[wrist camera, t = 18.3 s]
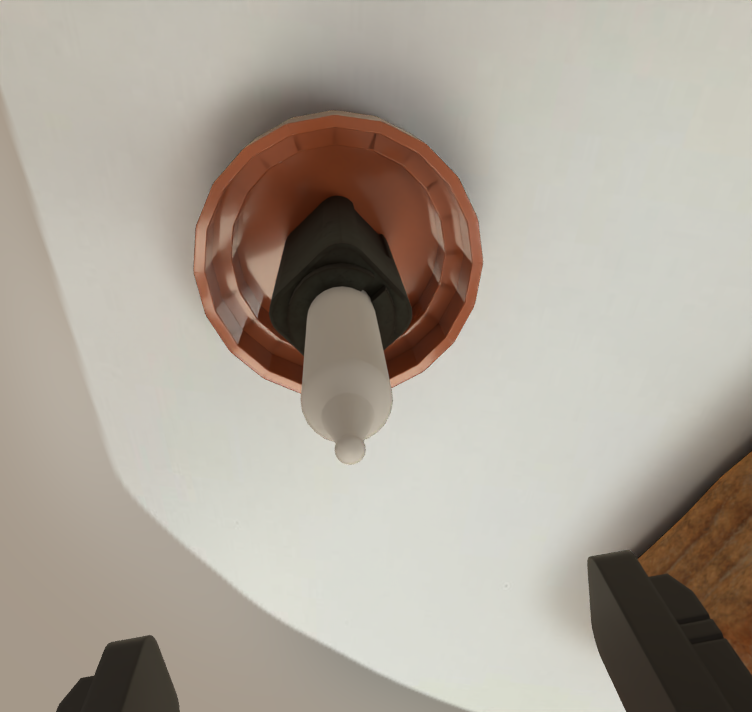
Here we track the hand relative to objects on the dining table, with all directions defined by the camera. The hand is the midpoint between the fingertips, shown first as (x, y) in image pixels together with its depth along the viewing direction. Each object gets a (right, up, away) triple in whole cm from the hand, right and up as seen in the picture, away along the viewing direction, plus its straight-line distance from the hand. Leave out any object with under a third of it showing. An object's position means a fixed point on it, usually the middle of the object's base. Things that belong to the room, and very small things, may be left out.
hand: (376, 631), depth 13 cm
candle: (-2, +12, +30) cm, 32 cm away
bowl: (-2, +12, +30) cm, 32 cm away
